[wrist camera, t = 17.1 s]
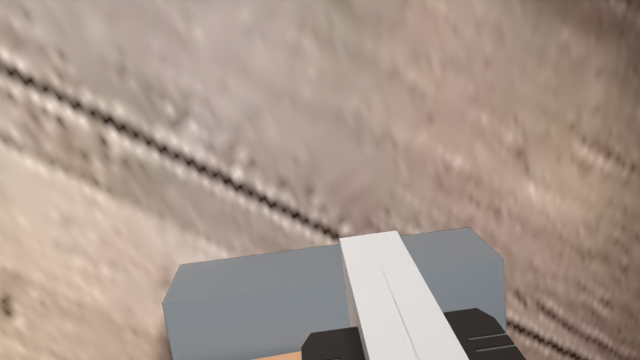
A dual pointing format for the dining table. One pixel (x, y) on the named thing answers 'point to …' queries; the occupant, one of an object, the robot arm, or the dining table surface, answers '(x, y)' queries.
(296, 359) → the bar
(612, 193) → the dining table surface
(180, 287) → the slate block
